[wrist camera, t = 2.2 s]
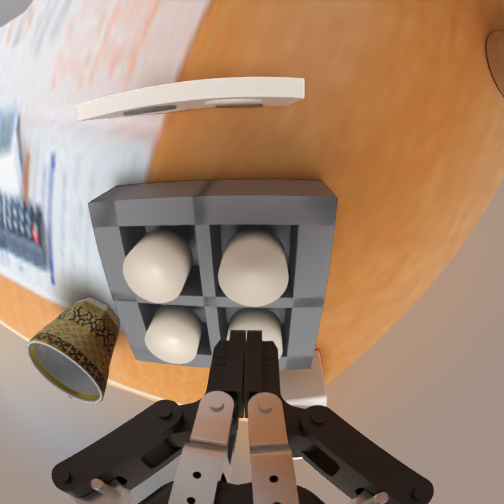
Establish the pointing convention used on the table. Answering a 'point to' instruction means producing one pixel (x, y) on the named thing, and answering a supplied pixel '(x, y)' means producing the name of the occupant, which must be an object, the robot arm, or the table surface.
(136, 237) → the board
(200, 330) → the button
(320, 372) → the medicine bottle
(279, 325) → the button
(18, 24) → the table surface
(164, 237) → the button
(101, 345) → the ceramic cup
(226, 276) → the button
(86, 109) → the card
